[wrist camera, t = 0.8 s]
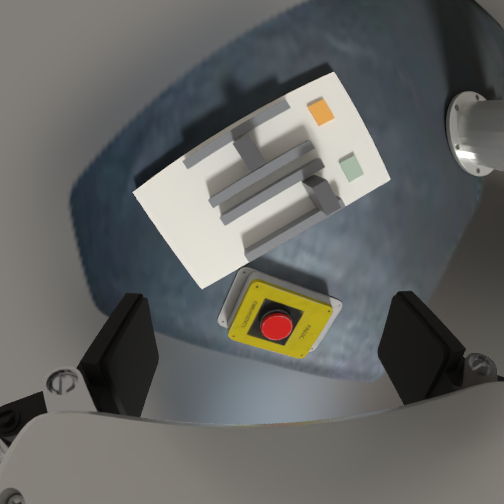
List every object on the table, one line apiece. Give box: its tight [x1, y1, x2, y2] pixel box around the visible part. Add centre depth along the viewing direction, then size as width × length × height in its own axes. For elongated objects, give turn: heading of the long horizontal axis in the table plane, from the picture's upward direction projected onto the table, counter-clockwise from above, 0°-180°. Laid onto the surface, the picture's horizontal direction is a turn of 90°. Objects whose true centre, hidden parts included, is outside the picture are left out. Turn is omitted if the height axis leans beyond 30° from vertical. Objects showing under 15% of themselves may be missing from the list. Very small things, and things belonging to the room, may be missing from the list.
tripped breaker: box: [233, 134, 266, 172], centre depth 26 cm, size 2×3×5 cm, turn 31°
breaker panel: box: [133, 72, 390, 289], centre depth 30 cm, size 26×14×3 cm, turn 121°
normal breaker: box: [302, 175, 341, 216], centre depth 28 cm, size 2×3×5 cm, turn 31°
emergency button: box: [218, 267, 342, 358], centre depth 36 cm, size 9×4×15 cm
